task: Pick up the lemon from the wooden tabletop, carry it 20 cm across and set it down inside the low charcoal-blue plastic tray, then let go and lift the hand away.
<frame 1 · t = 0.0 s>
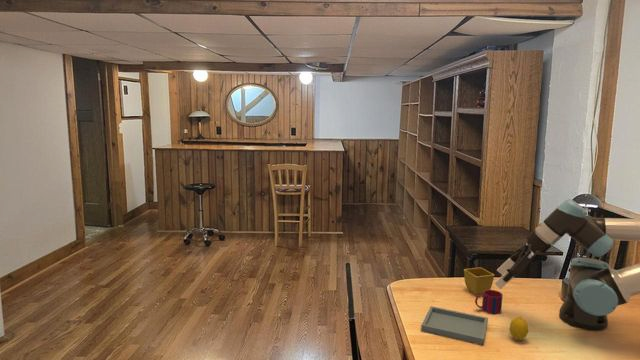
hand: (498, 279, 160), 15 cm above the table, tool tilted 35°, fingers open, 13 cm apart
lemon: (517, 340, 149), on the table
mug: (486, 310, 170), on the table
flower pot: (477, 293, 185), on the table
tray: (454, 327, 156), on the table
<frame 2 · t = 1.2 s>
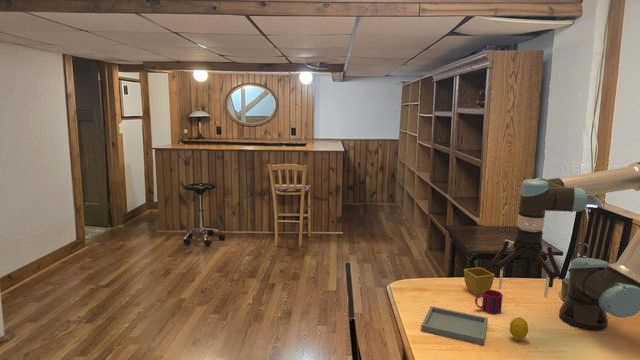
hand: (522, 291, 146), 17 cm above the table, tool pointing down, fingers open, 13 cm apart
nothing on the table moved.
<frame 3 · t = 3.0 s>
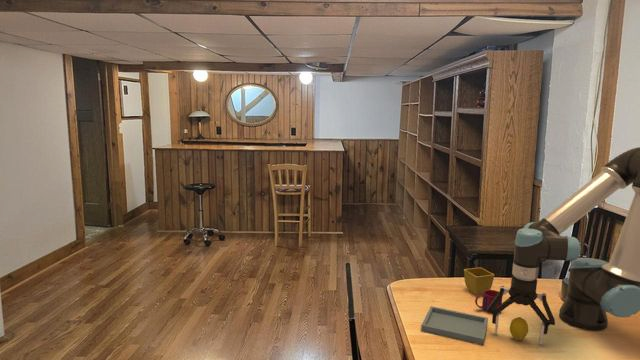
hand: (517, 337, 149), 1 cm above the table, tool pointing down, fingers open, 13 cm apart
nothing on the table moved.
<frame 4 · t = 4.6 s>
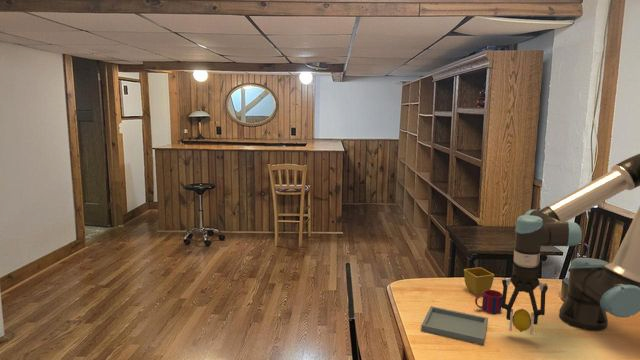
hand: (520, 330, 148), 3 cm above the table, tool pointing down, fingers closed on lemon, 5 cm apart
lemon: (520, 332, 148), point 3 cm above the table, touching gripper
everything else where it was.
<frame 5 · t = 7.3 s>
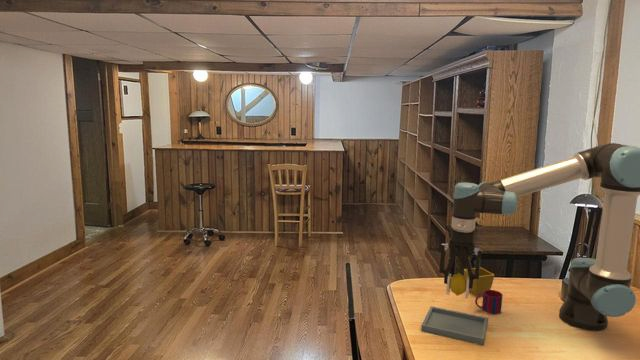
hand: (457, 294, 154), 12 cm above the table, tool pointing down, fingers closed on lemon, 5 cm apart
lemon: (457, 296, 154), point 12 cm above the table, touching gripper
everything else where it was.
when the fingers open (1 cm above the table, at t = 9.8 s): lemon stays where it is, resting on tray.
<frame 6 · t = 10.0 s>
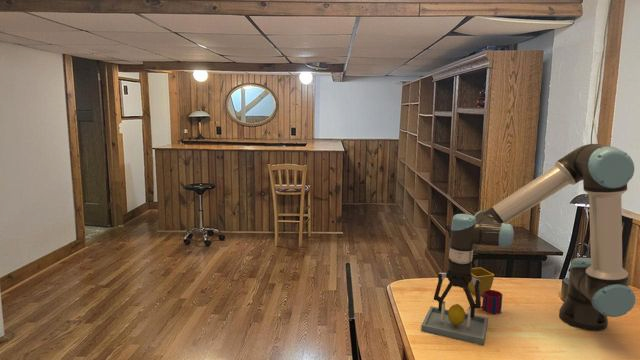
hand: (455, 322, 156), 2 cm above the table, tool pointing down, fingers open, 8 cm apart
lemon: (455, 326, 156), resting on tray
everything else where it was.
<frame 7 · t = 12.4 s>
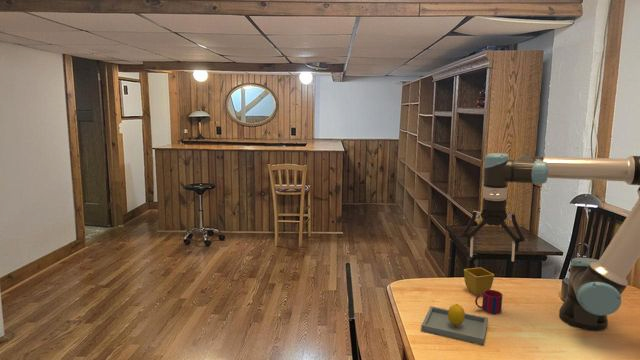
hand: (491, 258, 158), 23 cm above the table, tool pointing down, fingers open, 13 cm apart
nothing on the table moved.
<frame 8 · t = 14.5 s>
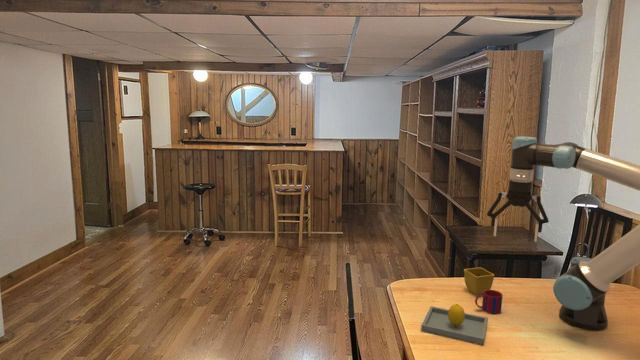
hand: (514, 238, 163), 29 cm above the table, tool pointing down, fingers open, 13 cm apart
nothing on the table moved.
at the end: lemon inside the target area on the tray (0.2 cm from its centre), point 0.4 cm above the tray's base; the gripper is holding nothing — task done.
